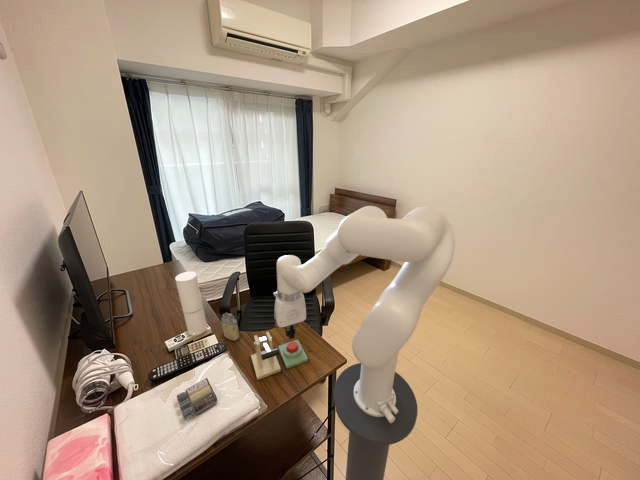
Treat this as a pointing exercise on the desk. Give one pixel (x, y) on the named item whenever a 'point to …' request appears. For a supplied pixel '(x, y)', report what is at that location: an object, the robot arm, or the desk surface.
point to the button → (292, 347)
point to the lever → (267, 349)
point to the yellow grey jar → (230, 327)
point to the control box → (292, 355)
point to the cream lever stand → (267, 365)
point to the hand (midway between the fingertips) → (290, 335)
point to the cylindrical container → (191, 302)
